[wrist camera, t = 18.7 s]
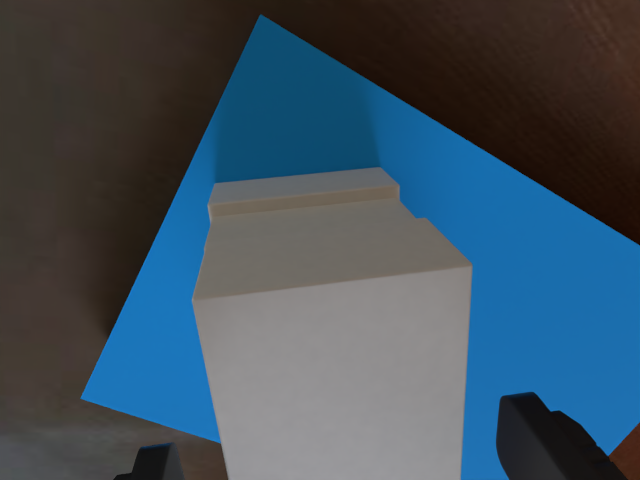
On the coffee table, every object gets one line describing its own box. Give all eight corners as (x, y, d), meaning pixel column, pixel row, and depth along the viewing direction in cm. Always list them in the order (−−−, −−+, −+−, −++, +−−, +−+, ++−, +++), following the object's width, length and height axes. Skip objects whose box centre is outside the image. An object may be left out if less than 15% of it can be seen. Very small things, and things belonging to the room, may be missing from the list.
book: (253, 9, 15) (756, 307, 21) (256, 19, 19) (678, 267, 25) (72, 413, 19) (530, 554, 26) (105, 352, 23) (494, 488, 30)
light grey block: (206, 241, 12) (190, 298, 9) (426, 216, 12) (474, 263, 10) (253, 503, 16) (252, 600, 13) (423, 476, 16) (456, 564, 13)
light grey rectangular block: (214, 182, 16) (196, 234, 12) (380, 166, 17) (426, 209, 12) (250, 406, 20) (247, 510, 16) (385, 387, 21) (421, 483, 16)
